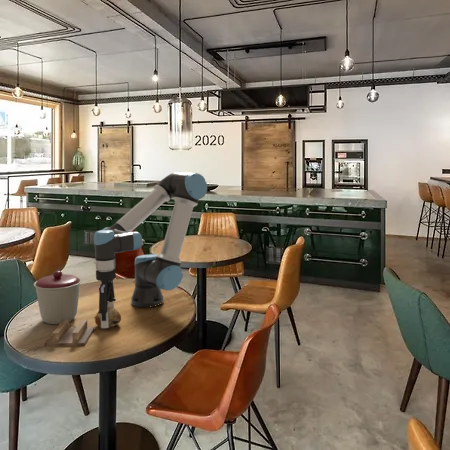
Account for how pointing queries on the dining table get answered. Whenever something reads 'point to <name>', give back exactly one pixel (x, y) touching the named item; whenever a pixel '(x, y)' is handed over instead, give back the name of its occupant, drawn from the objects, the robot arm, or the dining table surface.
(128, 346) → the dining table surface
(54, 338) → the display stand
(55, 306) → the canister
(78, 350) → the dining table surface
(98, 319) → the bread roll
